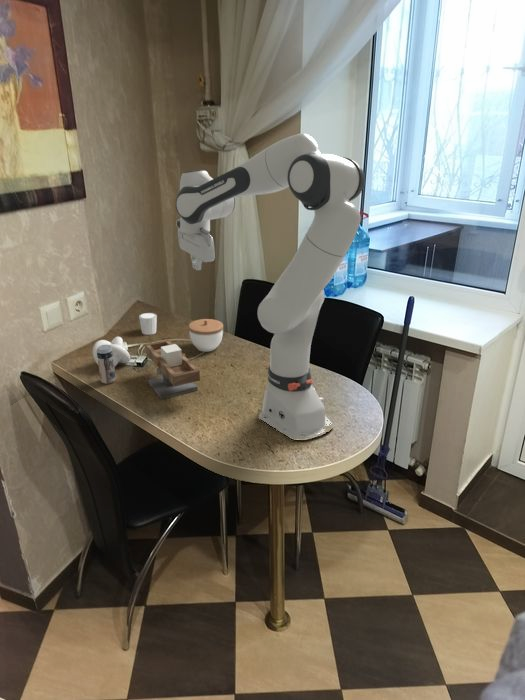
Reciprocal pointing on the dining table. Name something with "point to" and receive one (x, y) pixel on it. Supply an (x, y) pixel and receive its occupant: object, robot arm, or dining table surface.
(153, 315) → the shot glass
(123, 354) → the white knot sculpture
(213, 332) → the lidded bowl
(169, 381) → the brown wooden tray
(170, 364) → the white block
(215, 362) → the dining table surface
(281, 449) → the dining table surface
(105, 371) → the beer can
